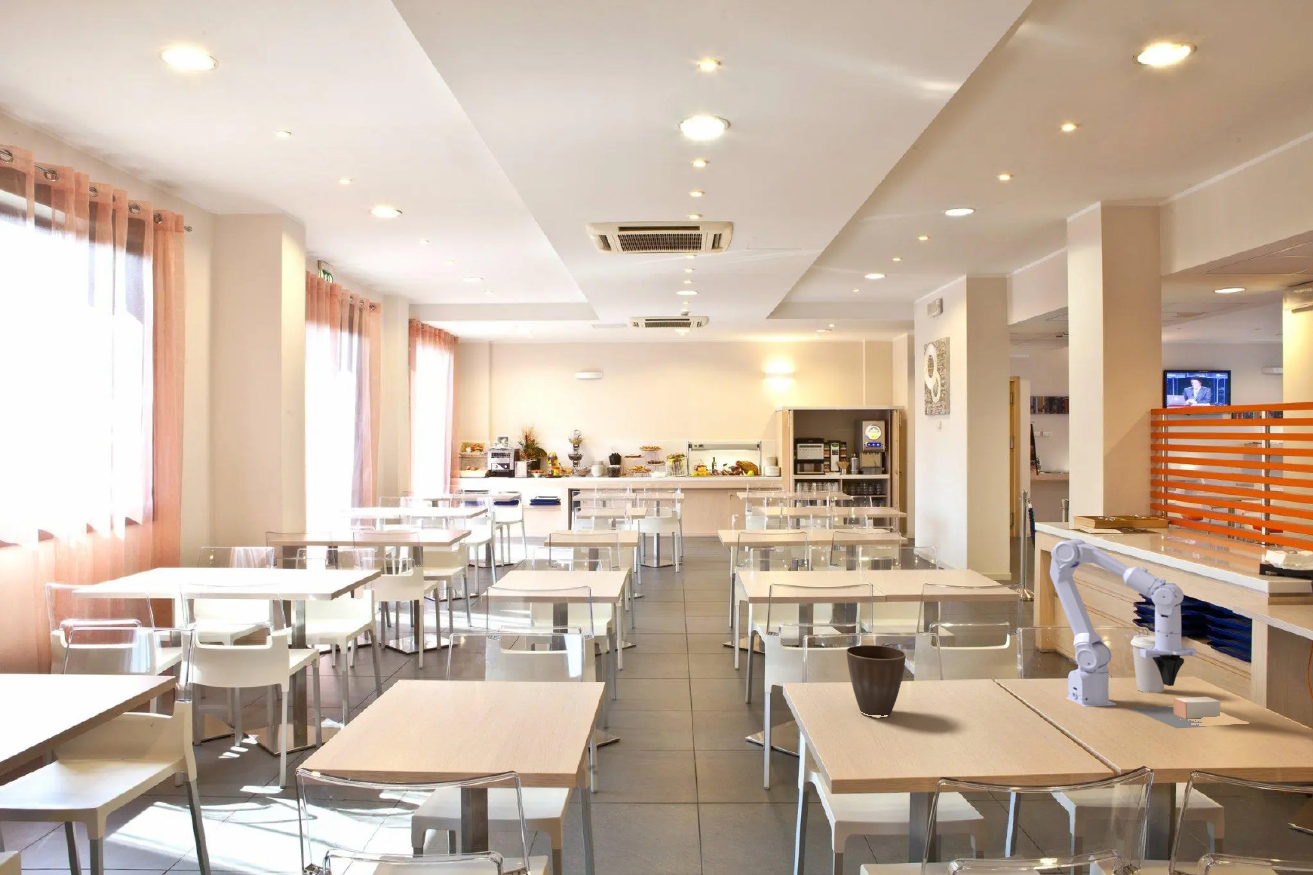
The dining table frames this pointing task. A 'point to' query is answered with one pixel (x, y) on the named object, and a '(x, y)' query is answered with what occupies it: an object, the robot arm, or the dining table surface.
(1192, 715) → the block
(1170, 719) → the mat
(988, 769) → the dining table surface
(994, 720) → the dining table surface
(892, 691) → the plant pot
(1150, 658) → the coffee cup
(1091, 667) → the robot arm
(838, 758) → the dining table surface
